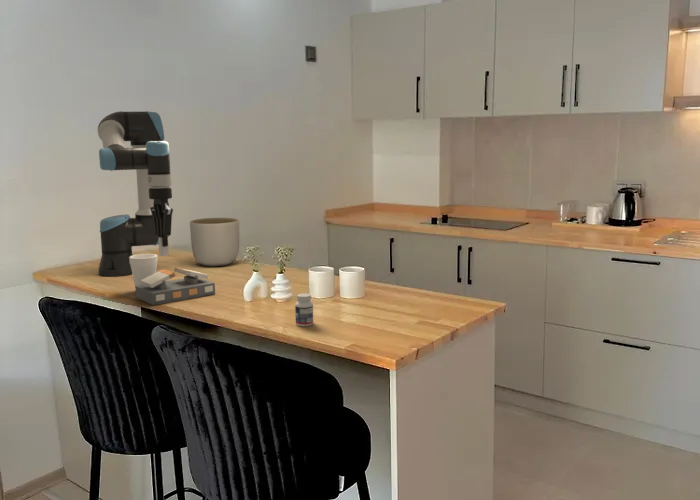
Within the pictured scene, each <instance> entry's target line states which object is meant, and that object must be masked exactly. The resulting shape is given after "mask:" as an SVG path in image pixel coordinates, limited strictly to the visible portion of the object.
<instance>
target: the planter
mask: <svg viewBox="0 0 700 500" xmlns="http://www.w3.org/2000/svg"><path fill="white" fill-rule="evenodd" d="M189 230H190V242H191V251H192V256H193V257H194V259H195V261H196V262H197V263H198V264H200V265H201V266H206V267H223V266H228V265H231V264H233V262H234V261H235V260H236V259H237V258H238V256H239V253H240V219H238V218H232V217H208V218H207V217H206V218H205V217H204V218H196V219H192V220H190V221H189Z"/></svg>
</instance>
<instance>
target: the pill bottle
mask: <svg viewBox="0 0 700 500" xmlns="http://www.w3.org/2000/svg"><path fill="white" fill-rule="evenodd" d="M296 296H297V297H296V300H297V301H296V302H295V307H294V308H295V309H294V311H295V326H298V327H309V326H312V325H313V324H314V303H313V302H312V296H311V294H310V293H298V294H297V295H296Z"/></svg>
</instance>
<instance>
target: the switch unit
mask: <svg viewBox="0 0 700 500" xmlns="http://www.w3.org/2000/svg"><path fill="white" fill-rule="evenodd" d="M134 288H135V298H136V299H139V300H141V301H142V302H145V303H147V304H149V305H152V306H156V305H161V304H162V305H163V304H168V303H172V302H179V301H184V300H189V299H196V298H199V297H200V298H201V297H207V296H211V295H215V294H216V283H215V282H213V281H210V280H208V279H205V278H200V277H198V278H197V279H196V278H193V277H190V276H187V275H184V276H183V278H179V279H173V280H171V279H170V280H167V281H166V283H165V284H163V283H161V284H159V285H157V286H155V287H153V288H151V287H148V286H146V285H140V286H135V285H134Z"/></svg>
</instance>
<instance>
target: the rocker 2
mask: <svg viewBox="0 0 700 500" xmlns="http://www.w3.org/2000/svg"><path fill="white" fill-rule="evenodd" d="M173 272H174V273H175V272H176V273H178V274H181V275H184V276H190V277H193V278H196V279H197V278H198V277H199V278H202V279H205V280H208V277H209V275H208V274H206V273H203V272H199V271H195V270H190V269H184V268H181V267H176V266H174V270H173Z"/></svg>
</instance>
